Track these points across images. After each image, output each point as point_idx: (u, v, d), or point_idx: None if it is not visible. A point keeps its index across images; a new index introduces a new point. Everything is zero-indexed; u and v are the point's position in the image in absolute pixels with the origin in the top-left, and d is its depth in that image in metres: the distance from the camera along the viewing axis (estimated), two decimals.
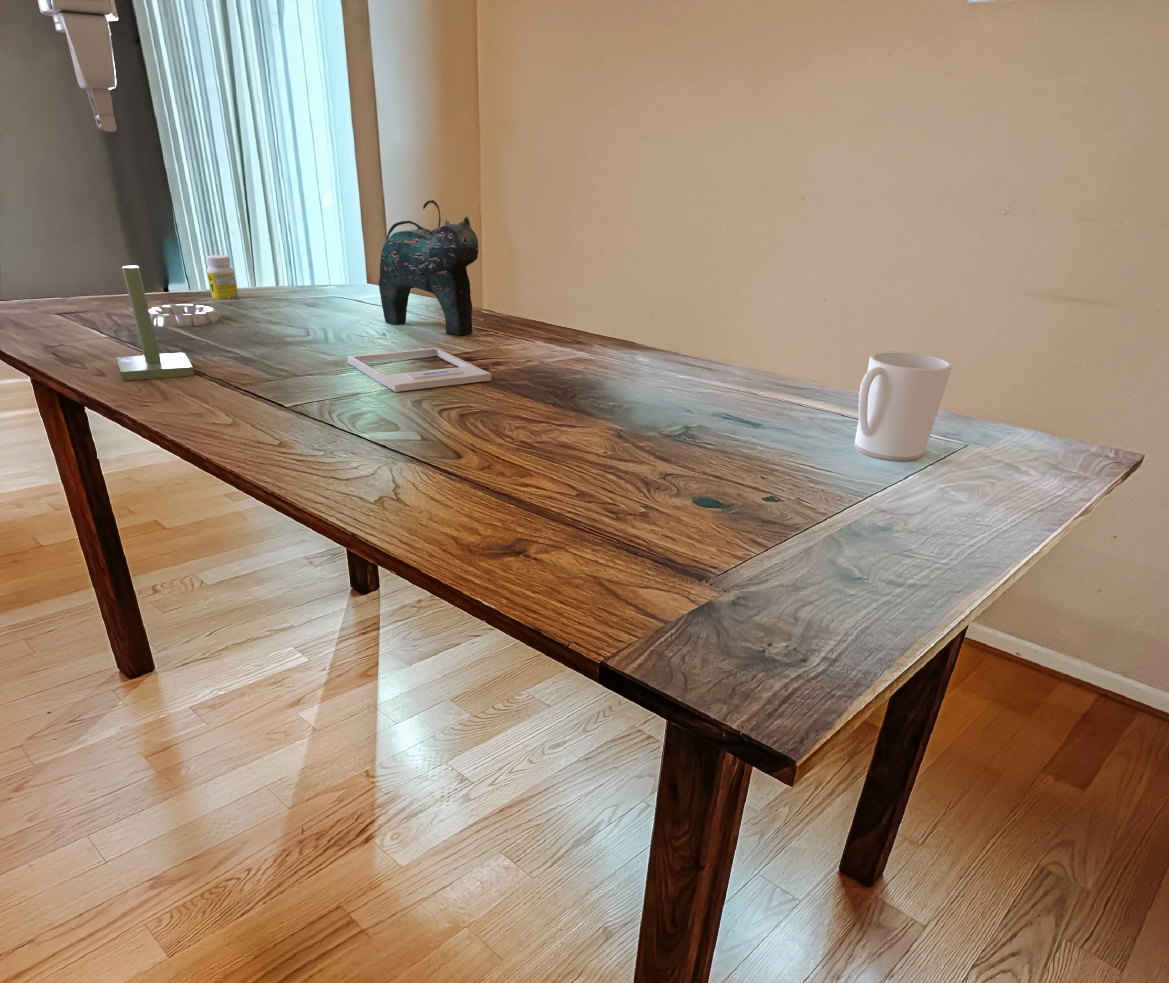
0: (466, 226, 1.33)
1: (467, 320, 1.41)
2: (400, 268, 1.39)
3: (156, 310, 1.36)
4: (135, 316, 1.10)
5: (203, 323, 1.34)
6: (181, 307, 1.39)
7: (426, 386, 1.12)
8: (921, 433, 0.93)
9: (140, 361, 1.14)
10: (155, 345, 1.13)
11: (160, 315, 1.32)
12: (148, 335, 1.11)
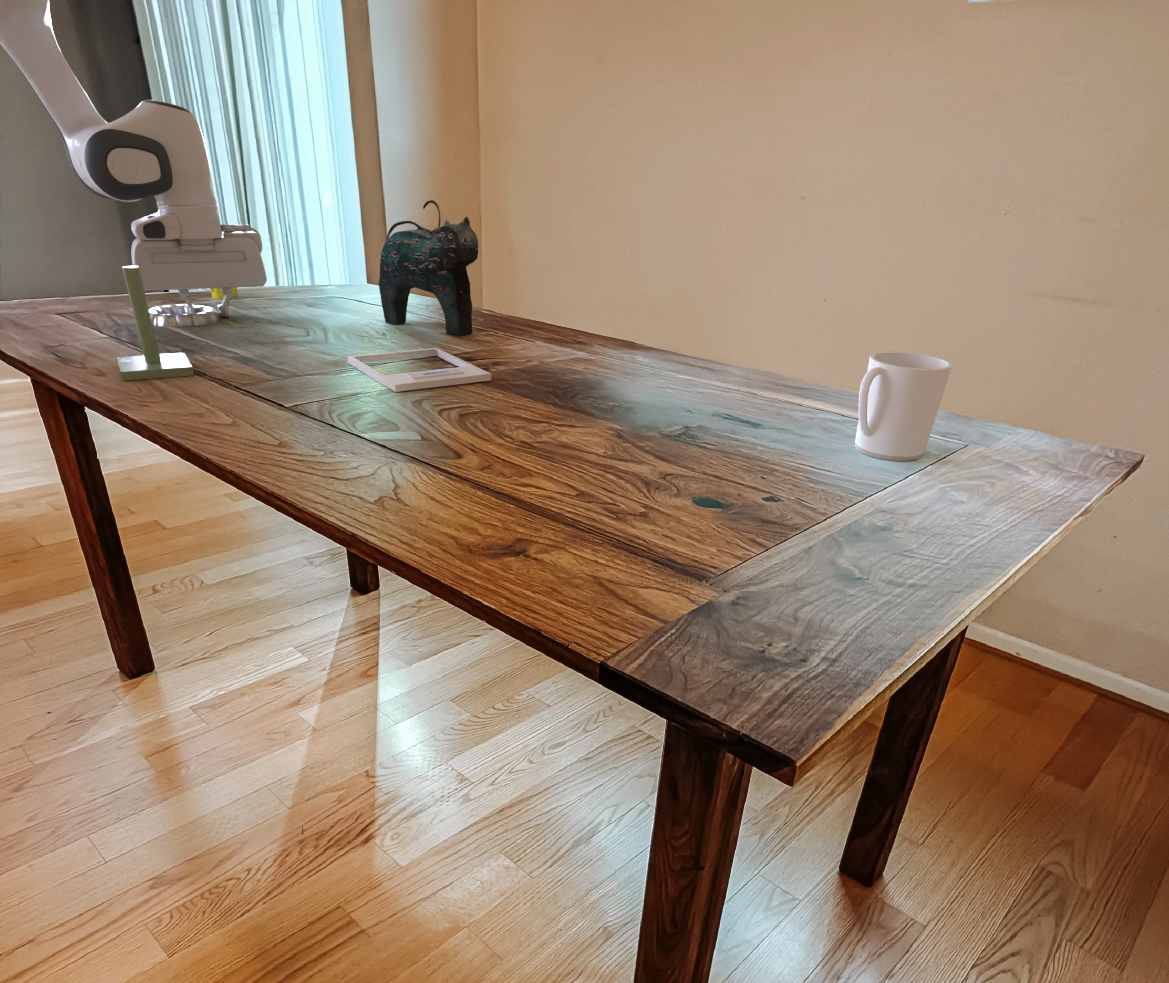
0: (466, 226, 1.33)
1: (467, 320, 1.41)
2: (400, 268, 1.39)
3: (156, 310, 1.36)
4: (135, 316, 1.10)
5: (203, 323, 1.34)
6: (181, 307, 1.39)
7: (426, 386, 1.12)
8: (921, 433, 0.93)
9: (140, 361, 1.14)
10: (155, 345, 1.13)
11: (160, 315, 1.32)
12: (148, 335, 1.11)
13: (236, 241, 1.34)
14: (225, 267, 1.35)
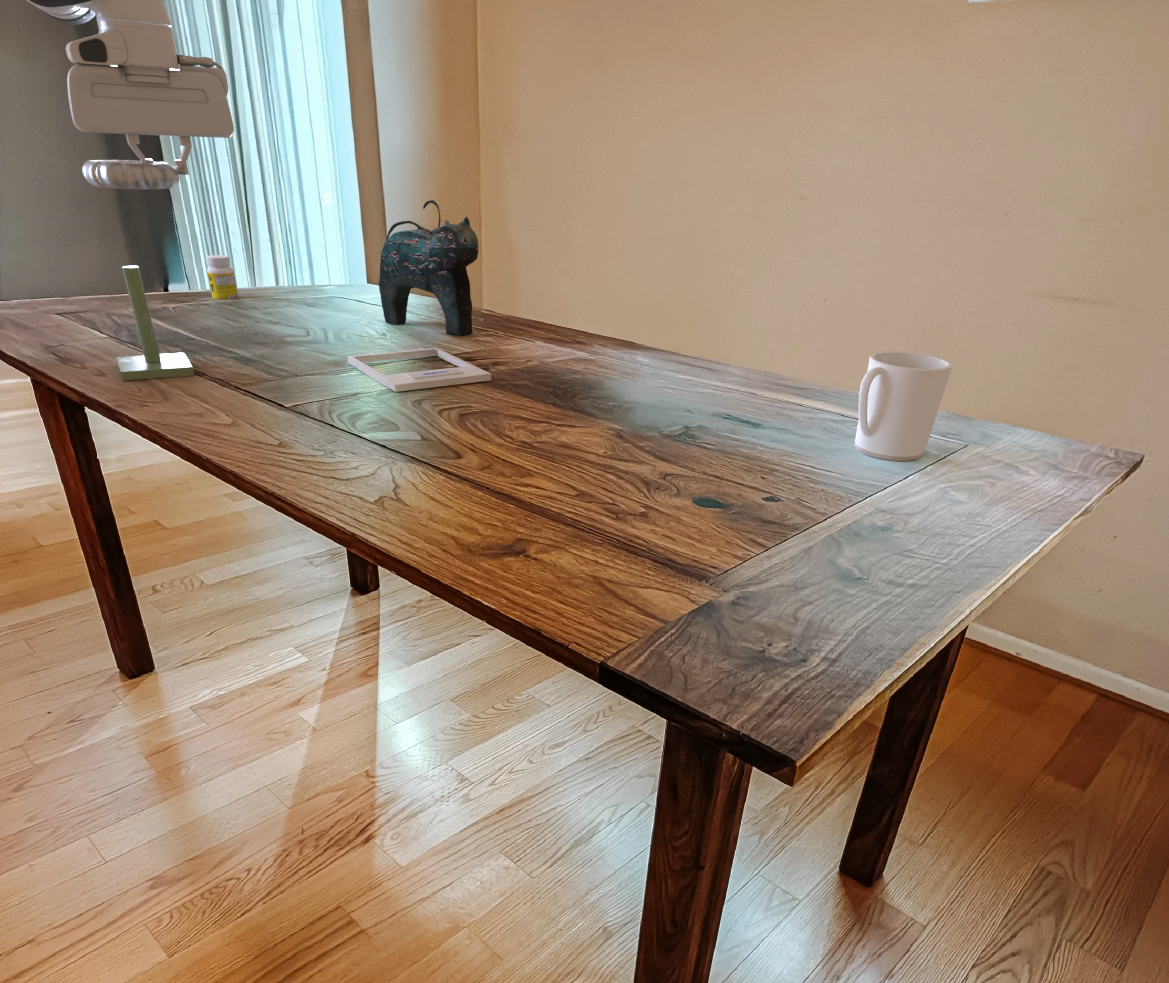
0: (466, 226, 1.33)
1: (467, 320, 1.41)
2: (400, 269, 1.39)
3: (100, 162, 1.13)
4: (135, 316, 1.10)
5: (156, 175, 1.11)
6: (131, 163, 1.16)
7: (426, 386, 1.12)
8: (921, 433, 0.93)
9: (140, 361, 1.14)
10: (155, 345, 1.13)
11: (103, 163, 1.09)
12: (148, 335, 1.11)
13: (196, 76, 1.11)
14: (182, 109, 1.12)
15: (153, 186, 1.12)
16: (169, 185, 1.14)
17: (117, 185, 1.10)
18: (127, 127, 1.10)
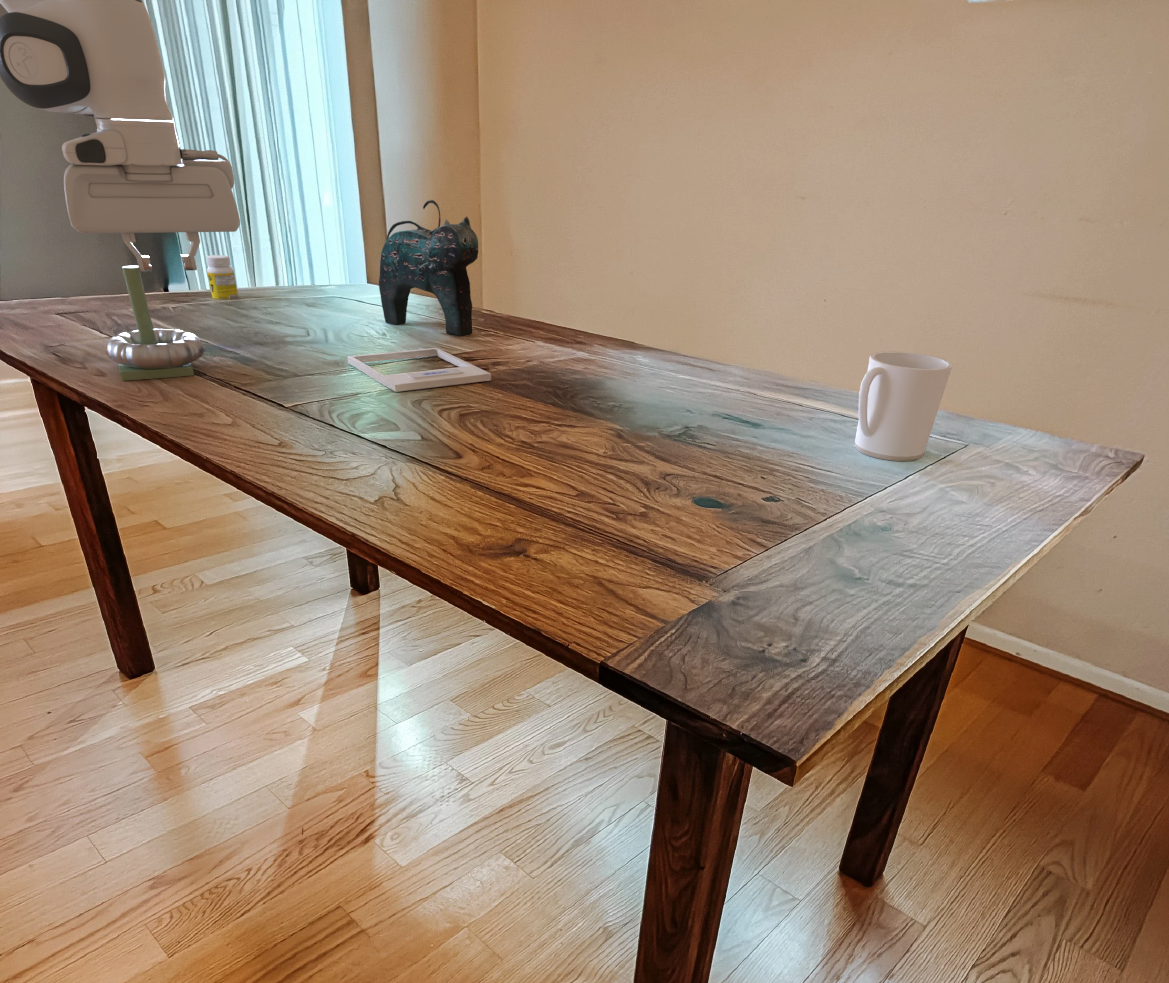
0: (466, 226, 1.33)
1: (467, 320, 1.41)
2: (400, 268, 1.39)
3: (124, 337, 1.12)
4: (135, 316, 1.10)
5: (182, 354, 1.11)
6: (155, 332, 1.16)
7: (426, 386, 1.12)
8: (921, 433, 0.93)
9: None
10: None
11: (129, 345, 1.09)
12: (148, 335, 1.11)
13: (199, 170, 1.05)
14: (186, 205, 1.06)
15: (178, 364, 1.11)
16: (194, 360, 1.13)
17: (142, 366, 1.10)
18: (127, 226, 1.04)
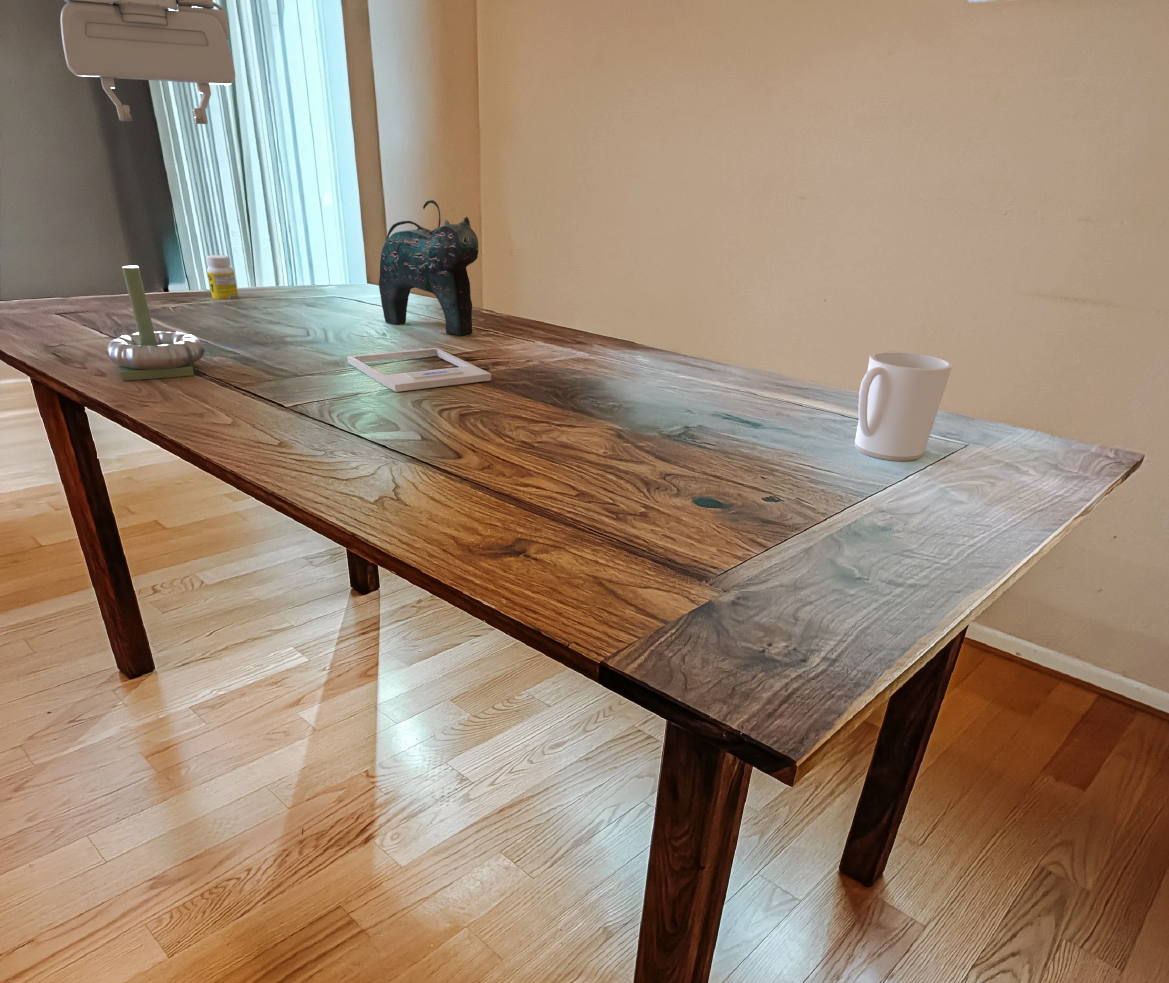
0: (466, 226, 1.33)
1: (467, 320, 1.41)
2: (400, 268, 1.39)
3: (125, 339, 1.13)
4: (135, 316, 1.10)
5: (182, 355, 1.11)
6: (155, 335, 1.16)
7: (426, 386, 1.12)
8: (921, 433, 0.93)
9: None
10: None
11: (129, 346, 1.09)
12: (148, 335, 1.11)
13: (195, 16, 1.06)
14: (181, 52, 1.07)
15: (178, 365, 1.11)
16: (194, 361, 1.13)
17: (143, 367, 1.10)
18: (123, 70, 1.05)
